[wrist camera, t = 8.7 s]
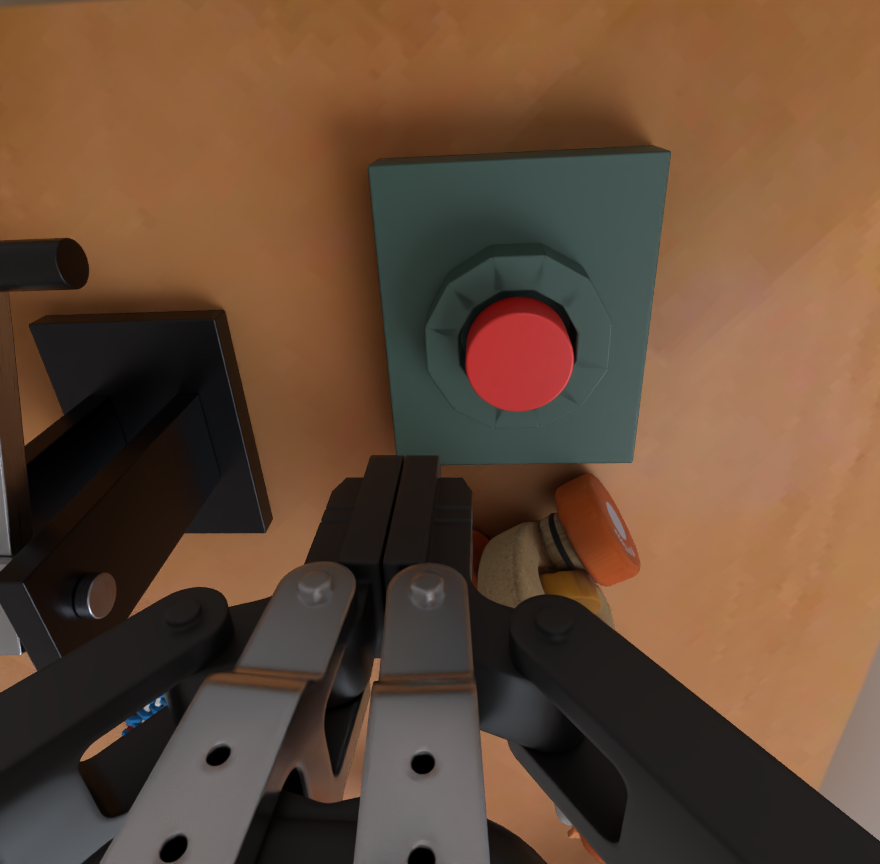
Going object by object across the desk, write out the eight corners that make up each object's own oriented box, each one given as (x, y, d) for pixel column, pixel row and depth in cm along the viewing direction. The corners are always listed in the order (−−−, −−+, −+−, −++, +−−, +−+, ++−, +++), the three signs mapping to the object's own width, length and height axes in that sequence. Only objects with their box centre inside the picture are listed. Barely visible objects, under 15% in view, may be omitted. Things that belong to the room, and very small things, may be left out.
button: (464, 297, 21) (463, 314, 19) (570, 294, 21) (577, 310, 19) (468, 391, 23) (466, 413, 21) (565, 389, 22) (571, 411, 21)
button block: (376, 158, 22) (357, 171, 19) (654, 145, 22) (688, 156, 18) (402, 440, 28) (391, 490, 25) (622, 437, 27) (642, 488, 24)
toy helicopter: (573, 434, 28) (643, 699, 16) (739, 697, 36) (870, 1006, 24) (424, 509, 30) (387, 787, 18) (610, 739, 38) (670, 1036, 26)
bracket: (45, 314, 26) (-277, 482, 15) (225, 309, 26) (28, 479, 14) (123, 519, 32) (-72, 754, 20) (273, 518, 31) (157, 760, 20)
